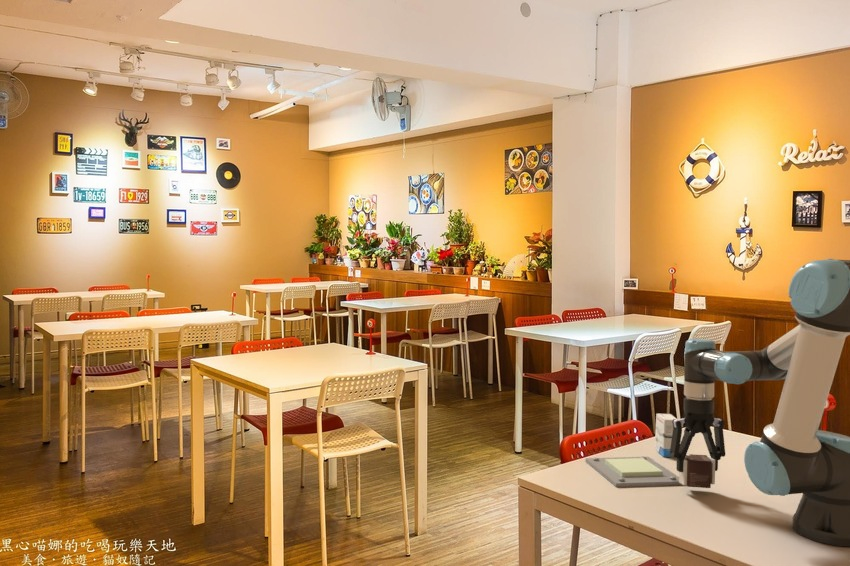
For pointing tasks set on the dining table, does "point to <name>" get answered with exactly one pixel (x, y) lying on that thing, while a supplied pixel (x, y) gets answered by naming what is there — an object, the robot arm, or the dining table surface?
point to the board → (633, 471)
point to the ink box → (664, 434)
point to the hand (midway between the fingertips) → (696, 483)
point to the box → (698, 471)
